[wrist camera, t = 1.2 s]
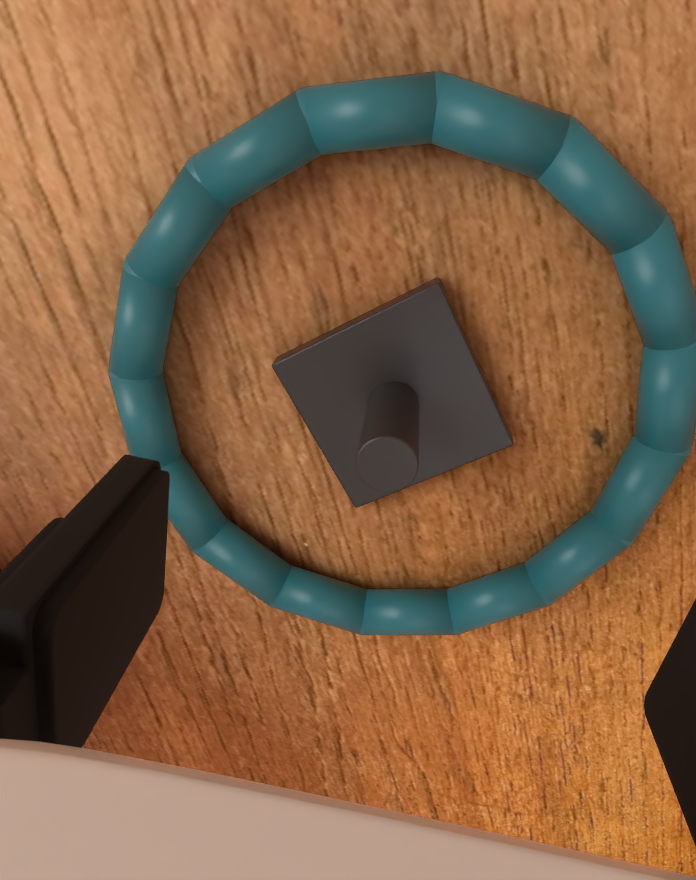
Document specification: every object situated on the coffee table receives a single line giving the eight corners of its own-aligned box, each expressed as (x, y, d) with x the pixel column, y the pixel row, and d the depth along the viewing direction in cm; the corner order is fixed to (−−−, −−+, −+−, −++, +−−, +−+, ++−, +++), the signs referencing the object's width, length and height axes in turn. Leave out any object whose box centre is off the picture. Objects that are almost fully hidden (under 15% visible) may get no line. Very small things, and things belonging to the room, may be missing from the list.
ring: (566, -74, 19) (582, -97, 17) (757, 514, 26) (782, 542, 24) (16, 272, 25) (-16, 282, 23) (294, 667, 32) (287, 698, 30)
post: (438, 276, 23) (443, 318, 18) (511, 434, 26) (535, 513, 20) (275, 357, 25) (235, 416, 20) (357, 497, 28) (341, 584, 22)
